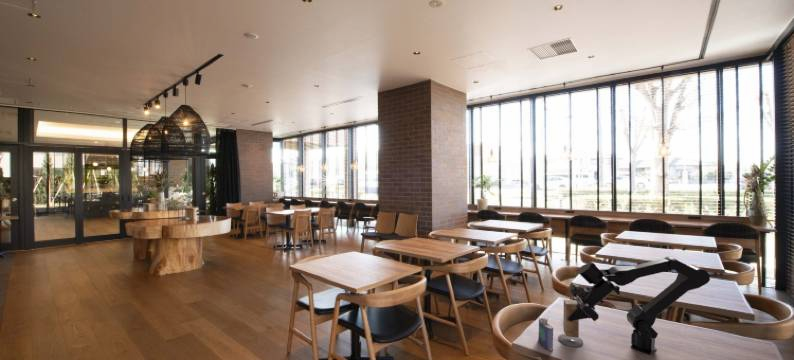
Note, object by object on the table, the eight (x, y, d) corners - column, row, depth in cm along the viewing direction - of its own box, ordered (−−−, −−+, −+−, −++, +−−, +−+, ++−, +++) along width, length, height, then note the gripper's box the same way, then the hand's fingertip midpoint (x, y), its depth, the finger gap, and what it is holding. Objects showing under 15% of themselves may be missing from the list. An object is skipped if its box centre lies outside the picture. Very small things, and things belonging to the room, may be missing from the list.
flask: (554, 351, 132) (554, 323, 131) (546, 351, 132) (546, 323, 131) (543, 339, 141) (543, 313, 140) (536, 339, 141) (536, 313, 140)
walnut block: (575, 332, 141) (575, 300, 140) (578, 337, 136) (578, 304, 136) (563, 330, 142) (563, 299, 141) (566, 336, 137) (566, 303, 137)
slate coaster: (587, 342, 138) (587, 340, 138) (575, 349, 133) (575, 347, 133) (565, 333, 145) (565, 331, 145) (553, 339, 140) (553, 338, 140)
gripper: (576, 269, 146) (547, 293, 149) (589, 285, 128) (556, 312, 131) (596, 289, 144) (567, 313, 148) (613, 307, 126) (579, 334, 130)
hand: (567, 317), depth 139 cm, fingers closed on walnut block, 4 cm apart
